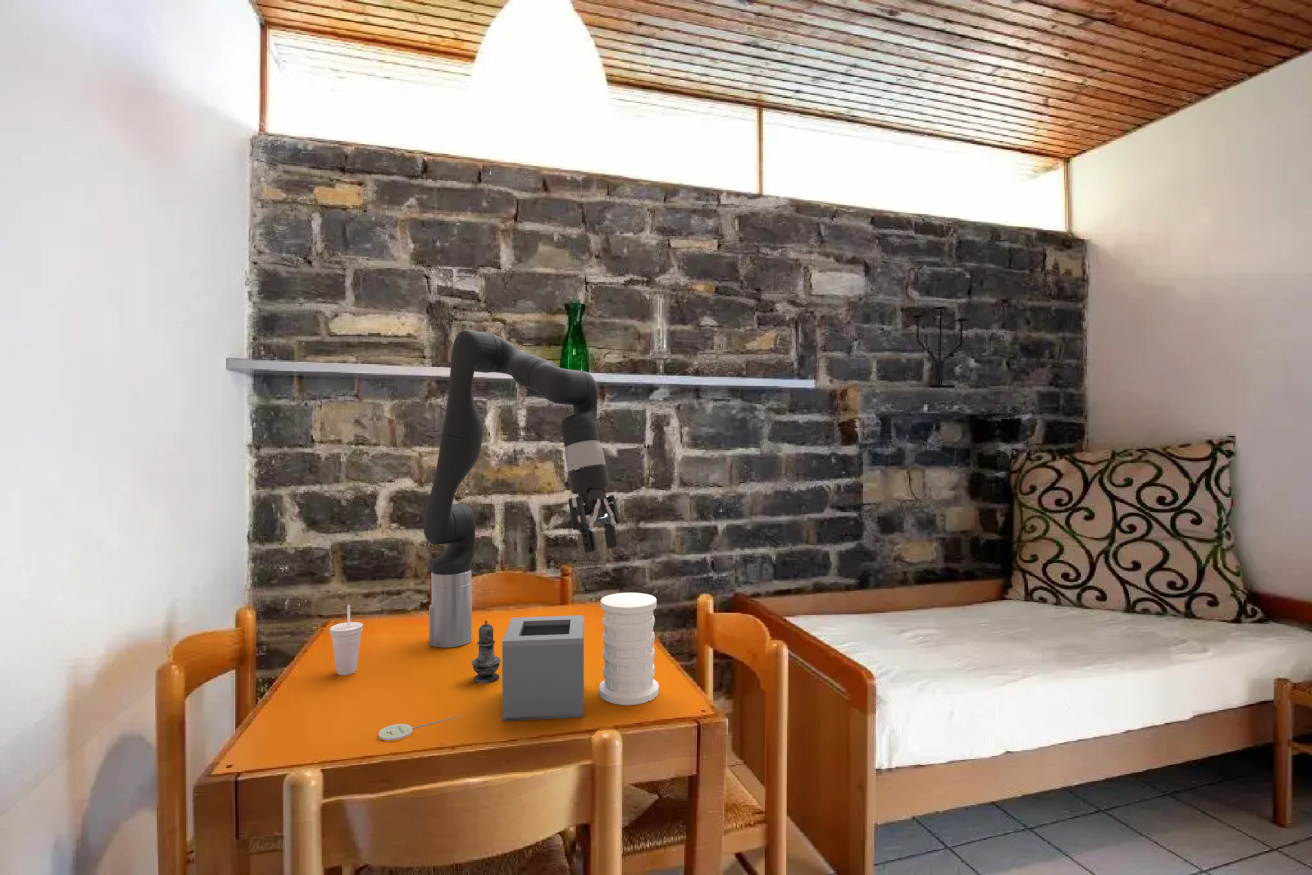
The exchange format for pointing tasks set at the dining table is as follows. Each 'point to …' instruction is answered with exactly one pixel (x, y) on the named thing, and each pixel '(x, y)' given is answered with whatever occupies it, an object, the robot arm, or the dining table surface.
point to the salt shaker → (486, 657)
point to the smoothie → (346, 645)
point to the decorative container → (628, 649)
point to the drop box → (543, 668)
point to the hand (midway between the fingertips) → (602, 549)
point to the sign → (400, 730)
